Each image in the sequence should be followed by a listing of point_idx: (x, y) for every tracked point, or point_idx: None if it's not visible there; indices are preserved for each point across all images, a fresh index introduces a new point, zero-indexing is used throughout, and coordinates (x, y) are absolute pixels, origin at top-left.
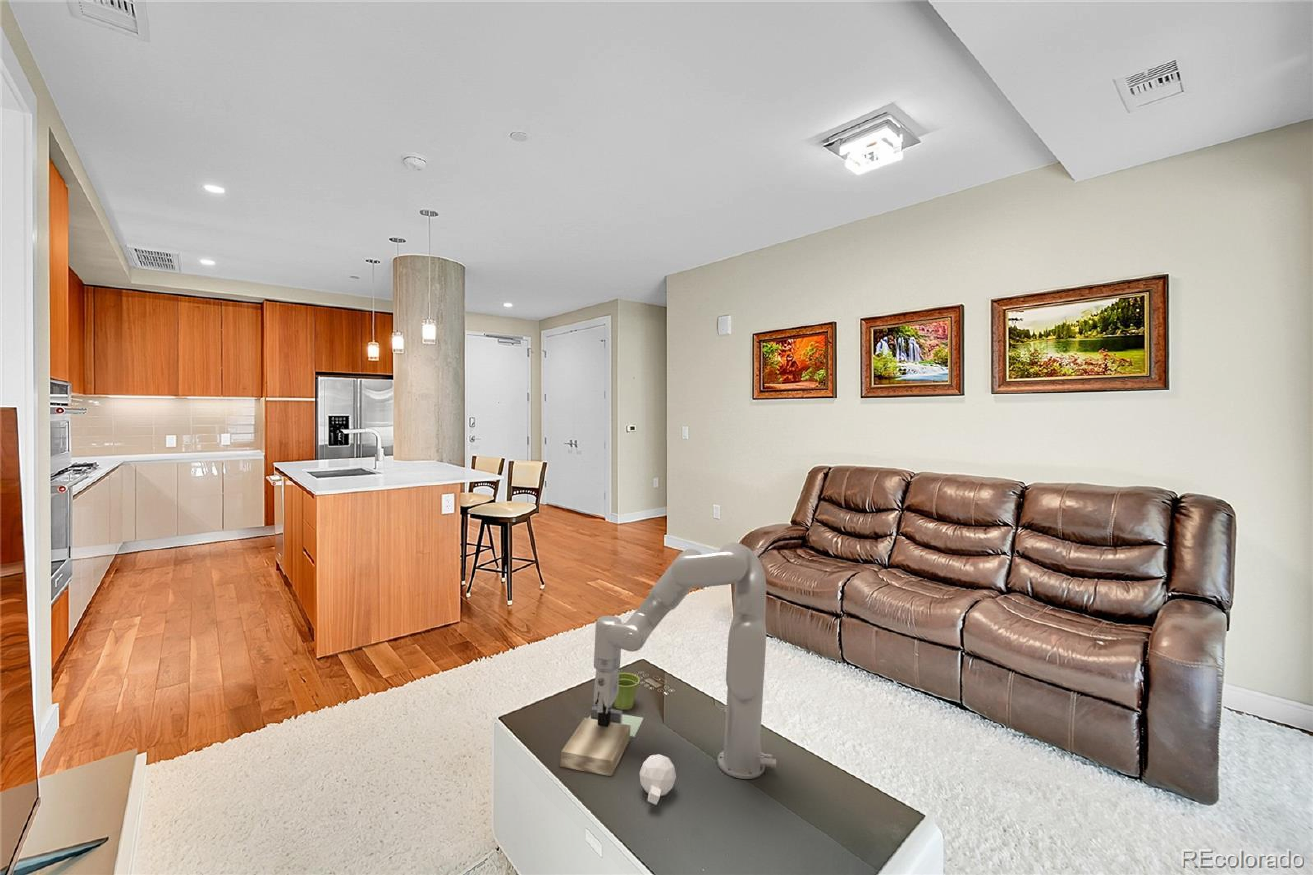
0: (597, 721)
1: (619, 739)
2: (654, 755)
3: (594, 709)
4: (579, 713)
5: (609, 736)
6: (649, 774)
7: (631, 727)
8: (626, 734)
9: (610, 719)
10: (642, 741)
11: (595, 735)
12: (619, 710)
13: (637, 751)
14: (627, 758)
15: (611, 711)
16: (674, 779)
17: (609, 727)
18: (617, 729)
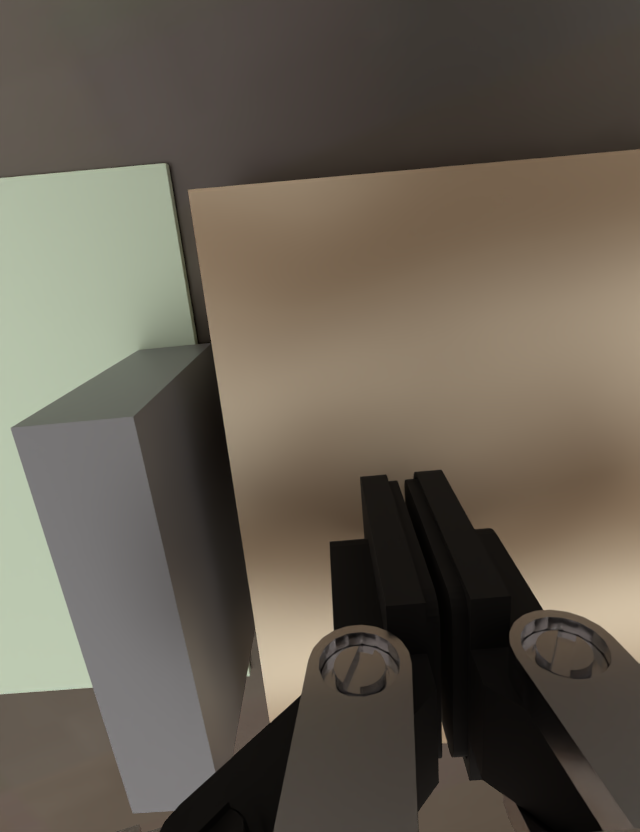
0: (292, 625)
1: (630, 210)
2: None
3: (204, 776)
4: (56, 761)
5: (579, 376)
6: None
7: (8, 268)
8: (428, 170)
9: (197, 512)
10: (198, 29)
11: (598, 536)
12: (29, 475)
13: (426, 14)
14: (595, 87)
15: (135, 574)
16: None
17: (366, 456)
18: (378, 339)
